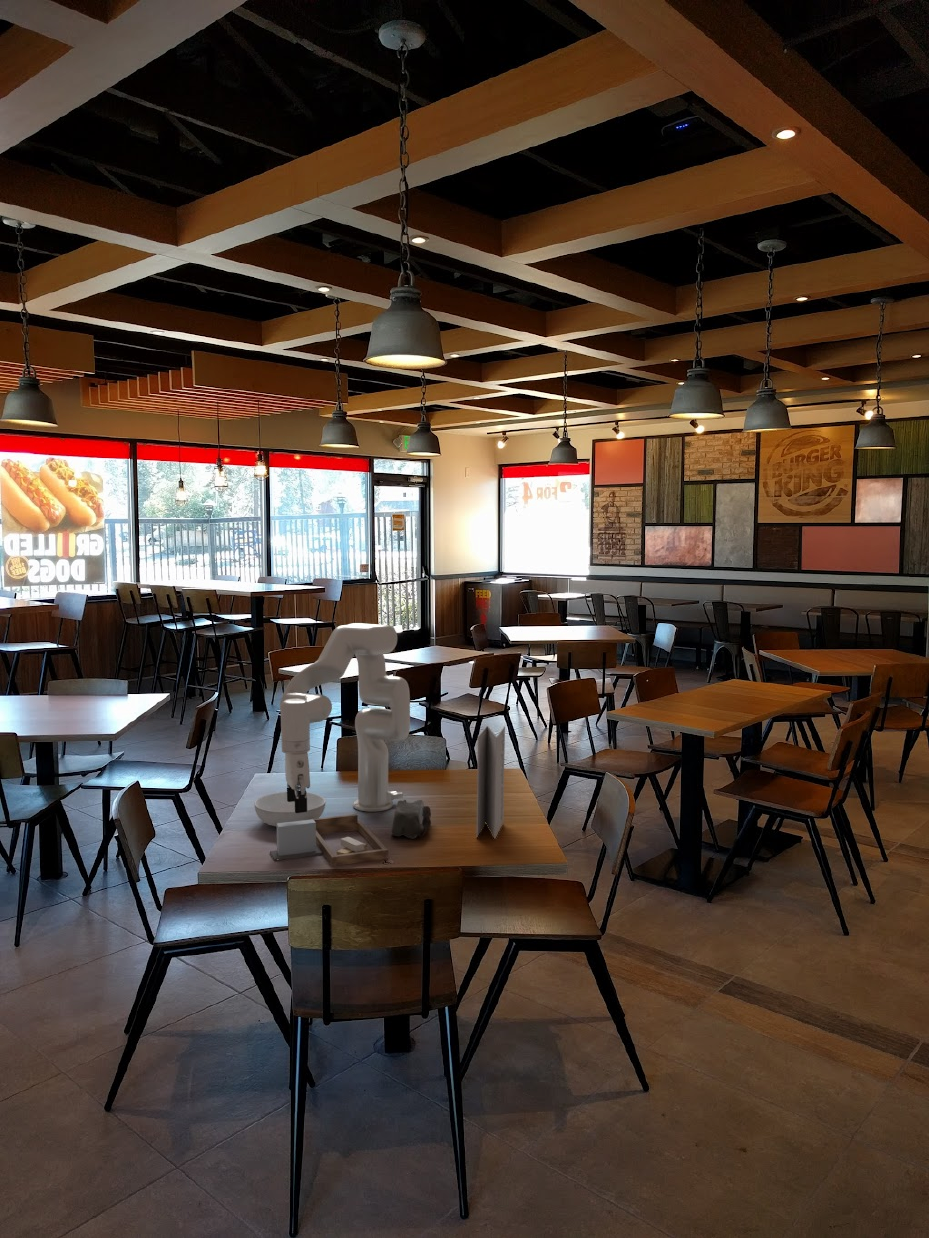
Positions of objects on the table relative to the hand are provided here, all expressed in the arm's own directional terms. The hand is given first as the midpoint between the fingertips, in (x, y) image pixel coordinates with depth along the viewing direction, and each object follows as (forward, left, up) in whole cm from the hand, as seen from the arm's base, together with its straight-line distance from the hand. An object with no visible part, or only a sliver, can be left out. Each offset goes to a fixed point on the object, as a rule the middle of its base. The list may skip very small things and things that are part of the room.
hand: (297, 806), depth 246 cm
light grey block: (0, 0, -12) cm, 12 cm away
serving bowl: (-4, -26, -13) cm, 29 cm away
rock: (-35, -6, -13) cm, 38 cm away
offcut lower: (-14, +6, -14) cm, 20 cm away
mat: (0, 0, -13) cm, 13 cm away
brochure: (-57, +2, -13) cm, 58 cm away
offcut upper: (-14, +6, -11) cm, 19 cm away
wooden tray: (-14, -1, -13) cm, 19 cm away
